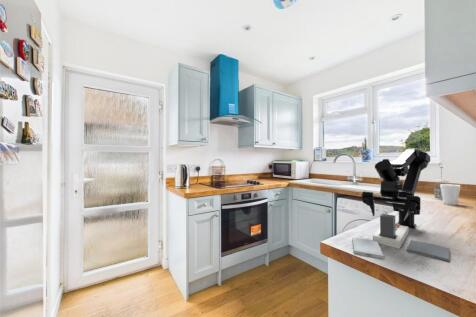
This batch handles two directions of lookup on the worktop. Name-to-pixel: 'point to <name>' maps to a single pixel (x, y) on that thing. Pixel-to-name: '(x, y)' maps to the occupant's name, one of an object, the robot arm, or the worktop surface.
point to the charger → (387, 226)
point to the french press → (439, 188)
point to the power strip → (400, 237)
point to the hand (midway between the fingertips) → (387, 218)
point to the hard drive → (367, 248)
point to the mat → (429, 250)
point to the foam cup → (450, 193)
